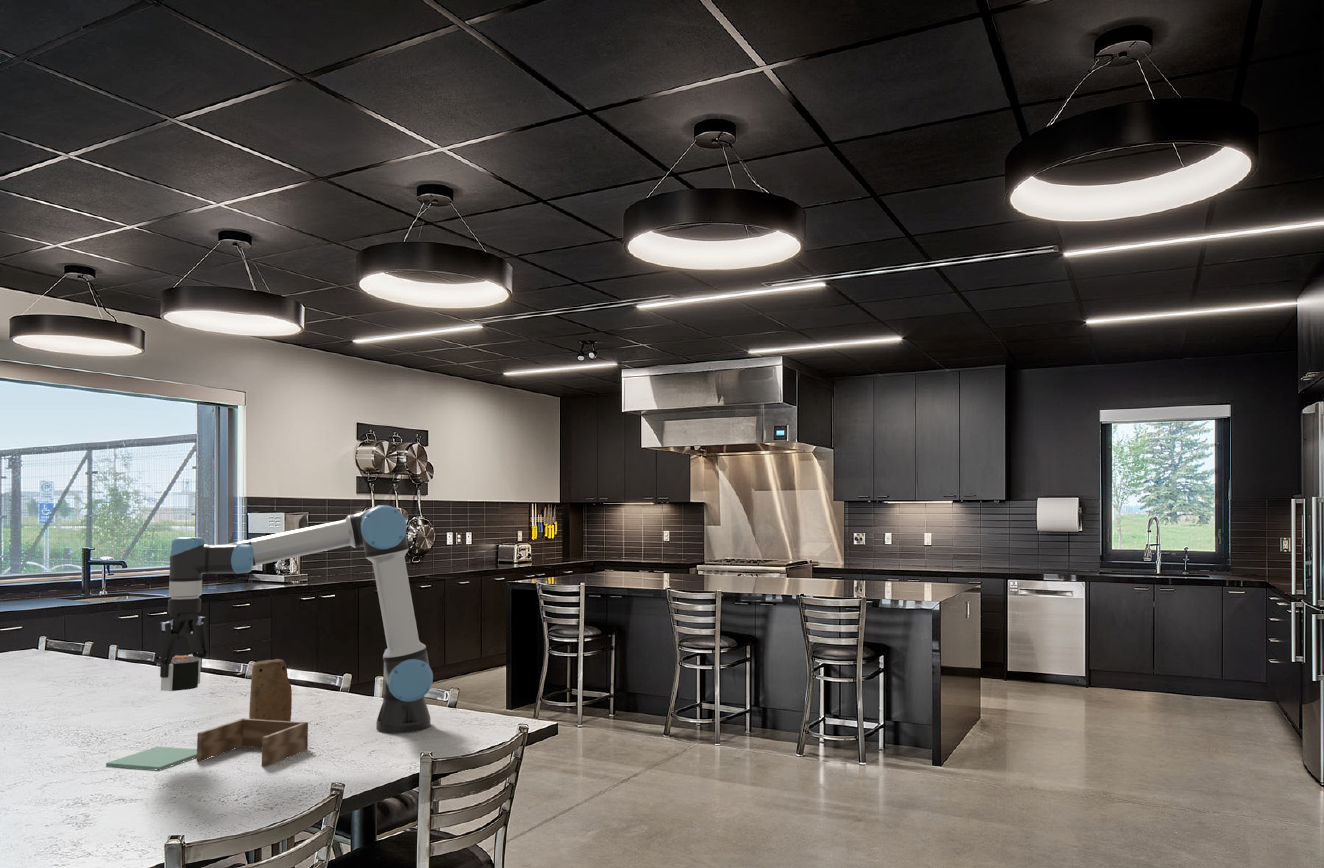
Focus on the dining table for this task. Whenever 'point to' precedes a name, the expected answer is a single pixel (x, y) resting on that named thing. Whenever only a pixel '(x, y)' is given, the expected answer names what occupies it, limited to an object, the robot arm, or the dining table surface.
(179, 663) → the sushi
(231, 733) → the frame
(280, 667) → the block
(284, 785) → the dining table surface
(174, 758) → the mat
